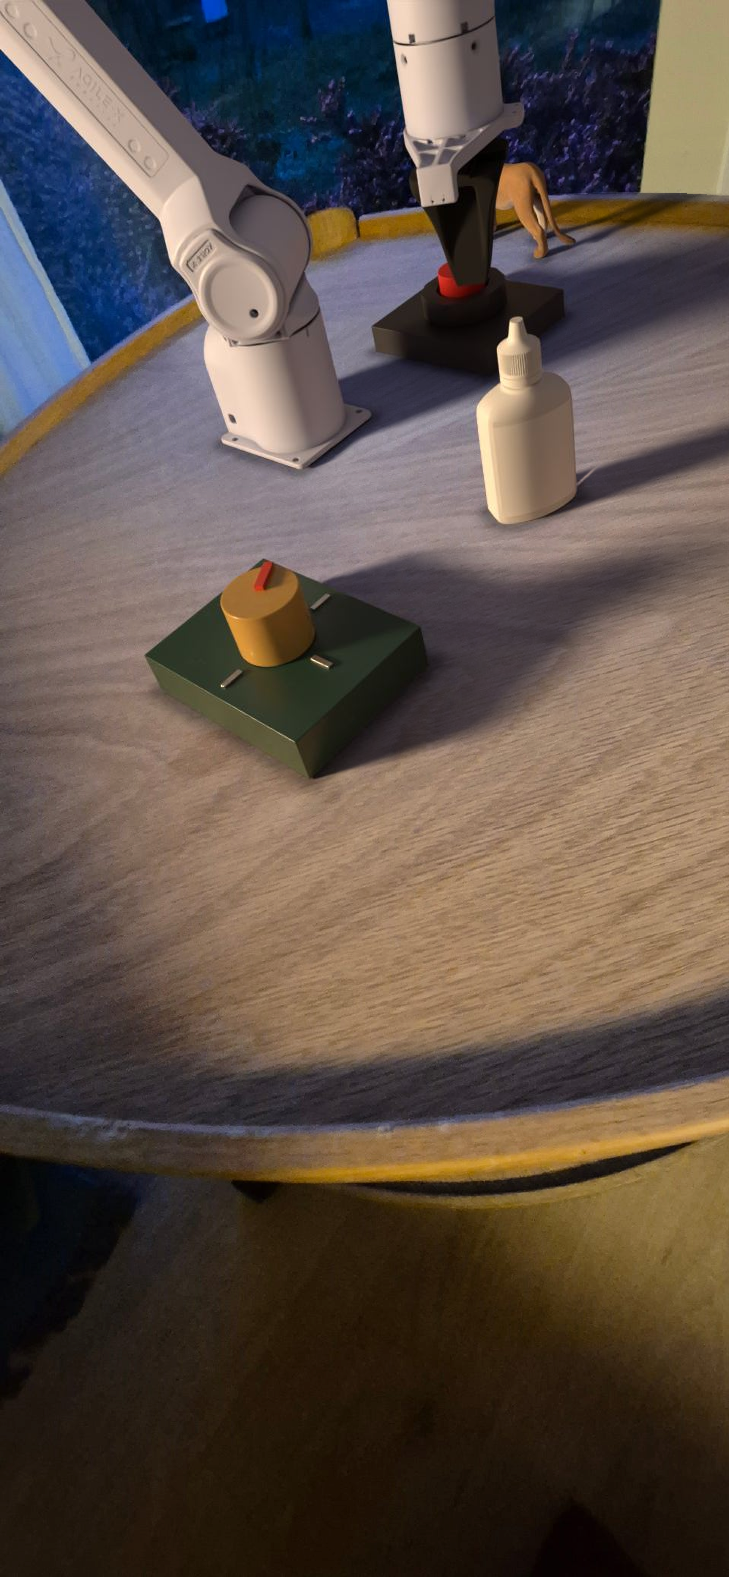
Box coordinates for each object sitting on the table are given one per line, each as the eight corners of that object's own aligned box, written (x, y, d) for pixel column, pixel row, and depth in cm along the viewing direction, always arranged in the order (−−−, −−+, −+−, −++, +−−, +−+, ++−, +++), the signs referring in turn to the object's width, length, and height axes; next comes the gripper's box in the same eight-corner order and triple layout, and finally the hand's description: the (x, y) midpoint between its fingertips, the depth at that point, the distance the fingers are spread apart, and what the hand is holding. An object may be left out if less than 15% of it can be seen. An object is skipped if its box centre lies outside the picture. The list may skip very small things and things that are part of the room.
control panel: (162, 691, 57) (142, 653, 55) (276, 595, 61) (262, 555, 58) (310, 780, 50) (294, 740, 48) (429, 665, 54) (420, 623, 51)
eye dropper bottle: (575, 522, 59) (566, 332, 50) (485, 528, 61) (461, 345, 52) (578, 481, 62) (569, 294, 53) (492, 488, 63) (470, 307, 54)
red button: (431, 297, 75) (428, 275, 74) (459, 277, 77) (456, 254, 75) (466, 304, 73) (463, 280, 72) (495, 282, 75) (492, 259, 73)
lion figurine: (428, 249, 90) (412, 141, 84) (461, 224, 92) (448, 118, 86) (560, 263, 82) (554, 146, 76) (592, 236, 84) (589, 119, 78)
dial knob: (304, 667, 51) (285, 613, 48) (230, 667, 52) (207, 615, 50) (323, 613, 54) (306, 559, 51) (252, 614, 55) (232, 562, 52)
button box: (376, 352, 79) (366, 304, 76) (450, 297, 83) (444, 248, 80) (489, 378, 73) (483, 326, 70) (565, 316, 76) (562, 265, 73)
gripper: (498, 54, 47) (521, 327, 57) (530, -24, 55) (545, 225, 65) (363, 81, 49) (408, 339, 59) (413, 1, 57) (445, 239, 68)
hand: (473, 280), depth 62 cm, fingers closed
